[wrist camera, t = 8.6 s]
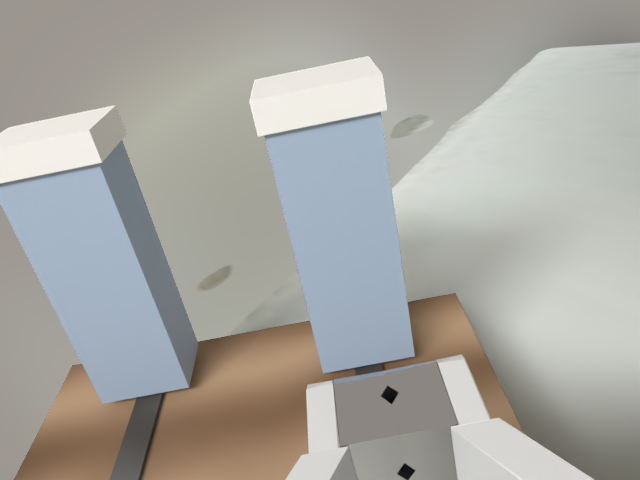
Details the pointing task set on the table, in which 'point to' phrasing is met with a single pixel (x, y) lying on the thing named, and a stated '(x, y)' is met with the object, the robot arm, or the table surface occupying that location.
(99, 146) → the slider
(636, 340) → the table surface
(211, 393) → the wooden slider track board
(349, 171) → the slider
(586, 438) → the table surface
